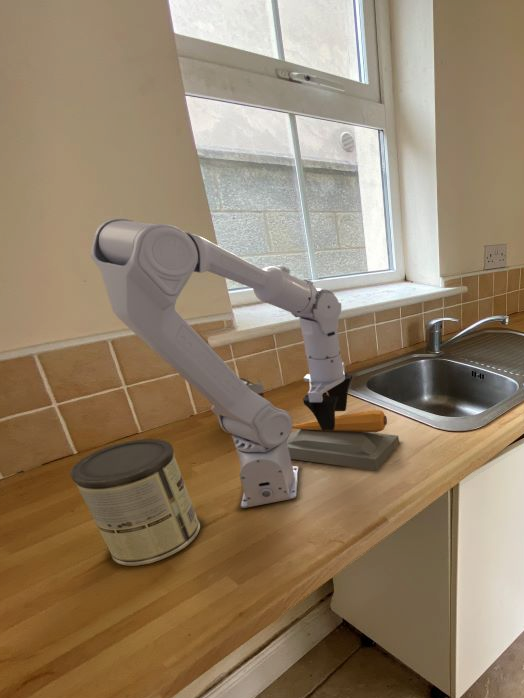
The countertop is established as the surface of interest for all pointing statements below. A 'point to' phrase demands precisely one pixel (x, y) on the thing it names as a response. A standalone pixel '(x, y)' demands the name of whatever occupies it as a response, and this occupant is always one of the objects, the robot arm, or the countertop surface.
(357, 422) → the carrot
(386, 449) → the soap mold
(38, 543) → the countertop surface
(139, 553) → the coffee can
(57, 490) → the countertop surface
